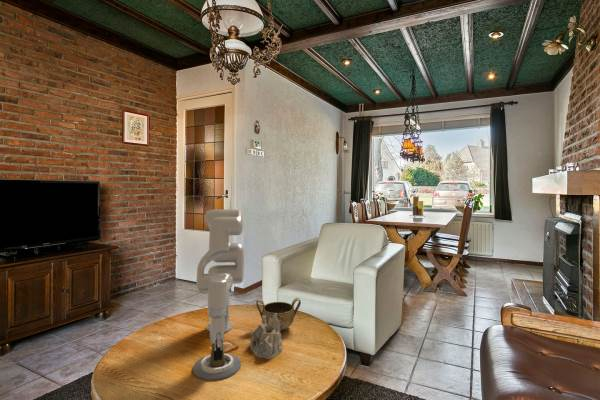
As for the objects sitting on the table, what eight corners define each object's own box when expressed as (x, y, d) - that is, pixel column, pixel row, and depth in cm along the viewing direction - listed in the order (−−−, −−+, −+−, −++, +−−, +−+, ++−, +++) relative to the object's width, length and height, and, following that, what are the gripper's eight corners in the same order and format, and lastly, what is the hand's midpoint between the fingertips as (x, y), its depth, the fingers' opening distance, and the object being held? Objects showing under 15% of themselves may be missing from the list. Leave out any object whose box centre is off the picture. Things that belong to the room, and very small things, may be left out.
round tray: (192, 359, 134) (192, 353, 134) (237, 352, 139) (237, 347, 139) (193, 384, 117) (193, 377, 117) (244, 375, 122) (244, 368, 122)
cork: (211, 359, 131) (211, 331, 131) (226, 358, 131) (226, 331, 131) (208, 367, 125) (208, 338, 125) (224, 366, 125) (224, 338, 125)
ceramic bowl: (299, 321, 174) (299, 293, 174) (301, 335, 157) (302, 304, 157) (256, 322, 172) (257, 293, 172) (254, 336, 156) (255, 305, 155)
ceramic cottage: (258, 337, 154) (258, 306, 153) (289, 346, 147) (289, 314, 146) (238, 354, 140) (238, 320, 139) (271, 364, 133) (272, 329, 132)
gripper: (206, 304, 134) (206, 348, 135) (208, 319, 118) (208, 369, 119) (225, 302, 137) (224, 345, 137) (230, 317, 121) (229, 366, 121)
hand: (217, 356), depth 128 cm, fingers open, 4 cm apart
